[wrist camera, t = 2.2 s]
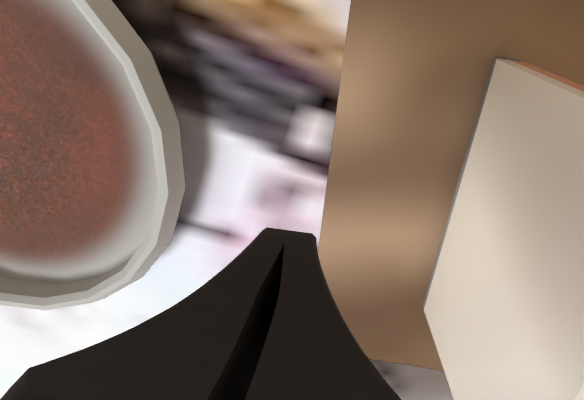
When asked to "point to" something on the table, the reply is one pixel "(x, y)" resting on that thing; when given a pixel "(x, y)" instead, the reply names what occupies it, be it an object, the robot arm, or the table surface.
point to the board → (417, 147)
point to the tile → (515, 245)
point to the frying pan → (81, 154)
